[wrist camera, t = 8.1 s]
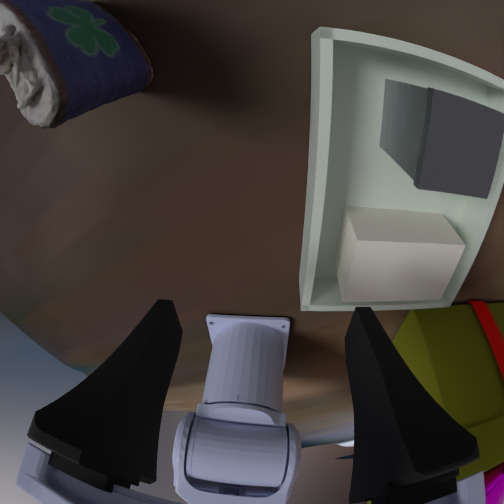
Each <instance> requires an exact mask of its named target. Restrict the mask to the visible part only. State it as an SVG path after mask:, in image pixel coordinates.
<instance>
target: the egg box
mask: <svg viewBox="0 0 504 504" xmlns="http://www.w3.org/2000/svg"><path fill="white" fill-rule="evenodd" d="M465 246H466V245H465V243H464V242H463V241H462V239H461V238H460V237H459V235H458V234H457V233H456V231H455V230H454V229H453V227H452V226H451V225H450V224H449V222H448V221H447V220H446V218H445V217H444V216H443V215H442V214H441V213H431V212H421V211H409V210H397V209H384V208H370V207H354V206H344V213H343V219H342V225H341V231H340V237H339V243H338V248H337V254H336V259H335V267H336V272H337V277H338V282H339V287H340V292H341V297H342V302H374V301H414V300H438V299H441V297H442V295H443V293H444V291H445V289H446V287H447V285H448V283H449V281H450V279H451V277H452V275H453V273H454V271H455V269H456V266H457V264H458V262H459V260H460V258H461V255H462V253H463V251H464V248H465Z"/></svg>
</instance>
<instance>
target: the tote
mask: <svg viewBox="0 0 504 504" xmlns="http://www.w3.org/2000/svg"><path fill="white" fill-rule="evenodd" d="M385 79H390V80H395V81H400V82H404V83H409V84H413V85H417V86H421V87H425V88H428V87H430V88H434V89H437V90H441V91H444V92H447V93H451V94H454V95H457V96H460V97H463V98H466V99H469V100H471V101H474V102H477V103H480V104H482V105H485V106H487V107H490V108H492V109H495V110H497V111H499V112H502V113H504V80H503V79H501V78H499V77H497V76H495V75H493V74H491V73H489V72H487V71H485V70H483V69H480V68H478V67H476V66H474V65H471V64H469V63H467V62H464V61H462V60H459V59H457V58H454V57H451V56H449V55H446V54H443V53H440V52H437V51H435V50H431V49H428V48H425V47H422V46H419V45H415V44H412V43H408V42H404V41H400V40H396V39H392V38H388V37H383V36H379V35H374V34H369V33H363V32H357V31H351V30H344V29H336V28H328V27H319V28H318V29H317V30H316V31H314V32H313V33H312V34H311V110H310V138H309V159H308V176H307V192H306V206H305V219H304V231H303V242H302V253H301V263H300V273H299V286H300V305H301V311H354V310H355V307H371V308H372V310H373V311H374V310H405V309H426V308H442V307H450V306H451V304H452V302H453V300H454V299H455V297H456V295H457V293H458V291H459V290H460V288H461V286H462V284H463V282H464V280H465V278H466V276H467V274H468V272H469V270H470V268H471V266H472V264H473V262H474V260H475V258H476V255H477V253H478V251H479V249H480V246H481V244H482V242H483V239H484V237H485V234H486V232H487V229H488V227H489V224H490V222H491V219H492V216H493V214H494V211H495V208H496V205H497V202H498V199H499V196H500V193H501V190H502V186H503V183H504V134H503V139H502V144H501V149H500V153H499V158H498V162H497V166H496V170H495V174H494V178H493V181H492V185H491V188H490V192H489V195H488V198H487V199H483V198H477V197H471V196H465V195H458V194H452V193H444V192H437V191H429V190H421V189H417V188H416V187H415V186H414V185H413V183H414V180H413V179H412V178H411V177H410V176H409V175H408V174H407V173H406V172H405V171H404V170H403V169H402V168H401V167H400V166H399V165H398V164H397V163H396V162H395V161H394V160H393V159H392V158H391V157H390V156H389V155H388V154H387V153H386V152H385V151H384V150H383V149H382V148H381V147H380V146H379V143H380V134H381V125H382V114H383V102H384V88H385ZM344 206H354V207H370V208H384V209H397V210H409V211H421V212H431V213H441V214H442V215H443V216H444V217H445V218H446V220H447V221H448V222H449V224H450V225H451V226H452V227H453V229H454V230H455V231H456V233H457V234H458V235H459V237H460V238H461V239H462V241H463V242H464V243H465V245H466V246H465V248H464V251H463V253H462V255H461V258H460V260H459V262H458V264H457V266H456V269H455V271H454V273H453V275H452V277H451V279H450V281H449V283H448V285H447V287H446V289H445V291H444V293H443V295H442V297H441V299H438V300H414V301H374V302H342V297H341V292H340V287H339V282H338V277H337V272H336V267H335V259H336V254H337V248H338V243H339V237H340V231H341V225H342V219H343V213H344Z"/></svg>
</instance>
